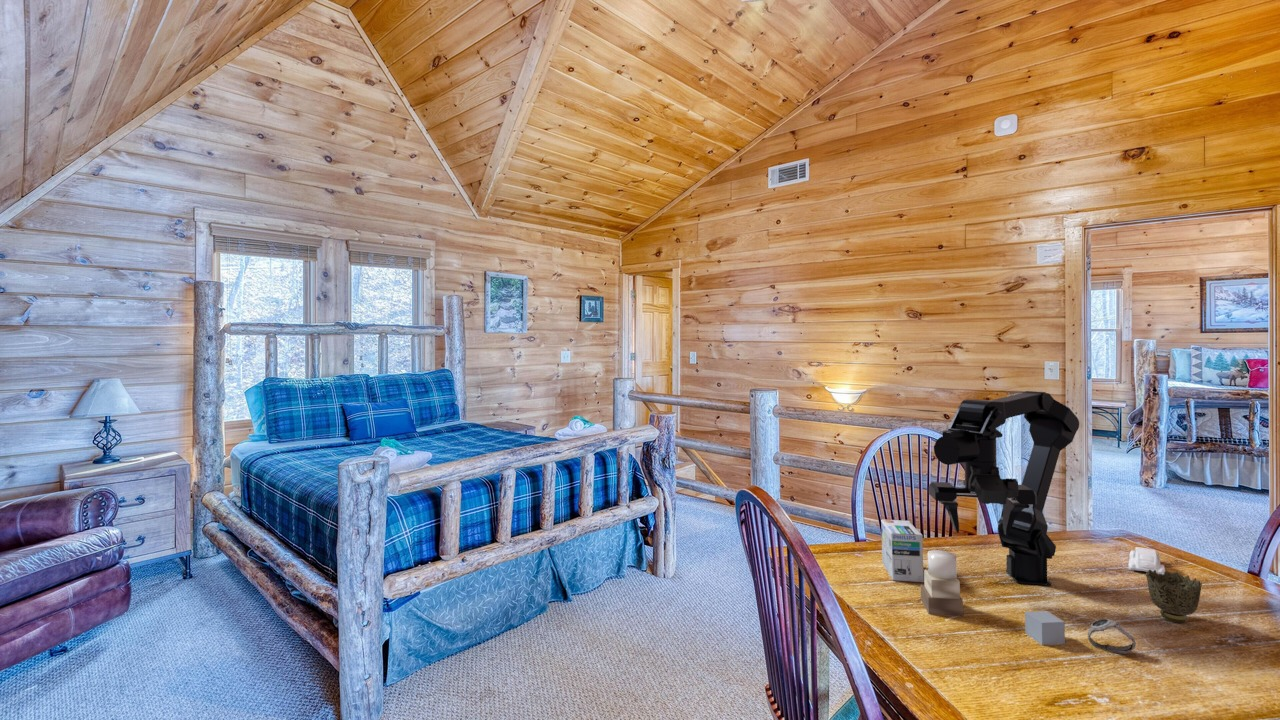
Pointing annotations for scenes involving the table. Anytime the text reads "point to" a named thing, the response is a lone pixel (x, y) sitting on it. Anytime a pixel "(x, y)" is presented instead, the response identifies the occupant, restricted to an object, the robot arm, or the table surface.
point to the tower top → (941, 587)
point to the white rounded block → (1145, 560)
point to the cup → (1174, 594)
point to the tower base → (941, 604)
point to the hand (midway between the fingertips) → (981, 533)
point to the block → (1045, 628)
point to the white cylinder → (942, 564)
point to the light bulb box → (902, 550)
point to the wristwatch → (1102, 626)
